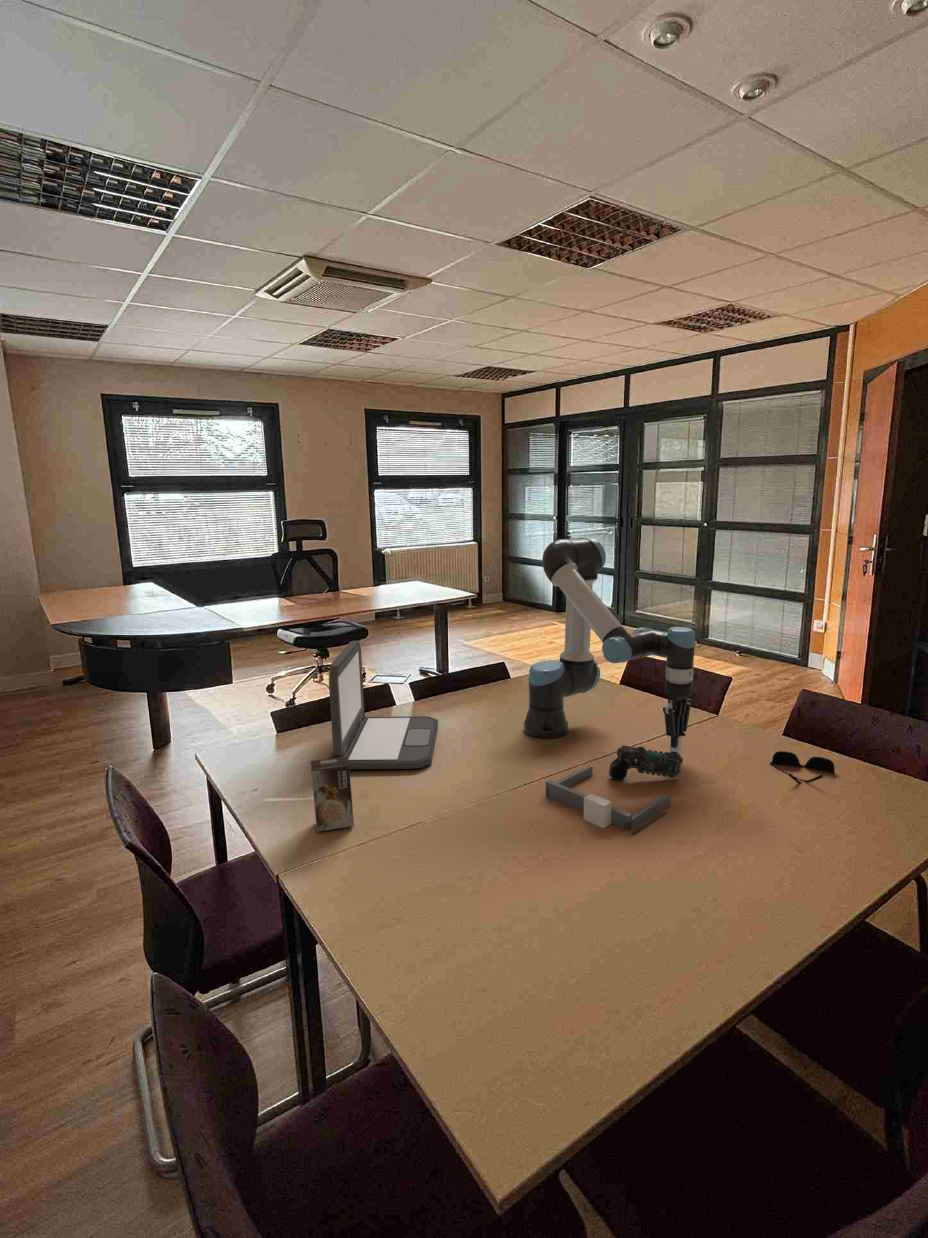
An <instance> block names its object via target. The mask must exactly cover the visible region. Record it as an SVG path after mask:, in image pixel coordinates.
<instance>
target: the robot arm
mask: <svg viewBox="0 0 928 1238" xmlns="http://www.w3.org/2000/svg"><path fill="white" fill-rule="evenodd" d="M606 556H607V555H606V552H605V548H604V546H603V545H602V543H601V542H600V541H599V540H597V539H596V538H593V537H581V536H580V537H575V538H574V537H573V538H566V539H565V538H563V539H562V538H561V539H557V540H556V539H555V540H554V541H552V542H550V543H549V544H548V545H547V547H546V548H545V549H544V551H543V554H542V559H541V560H542V561H541V564H542V569H543V572H544V573H545V576H546V577H547V579H548V580H549V582H550V583H551V584H552V586H555V587H558V588H559V590H561V591H562V593H563V594H564V595H565V597H566V601H565V603H566V604H565V626H564V627H565V628H564V650H563V651H562V652H561V653H560V654H559V660H556V659H555V660H554V659H549V660H541V661H538V662H535V663H534V664H532V666H530V668H529V670H528V671H529V673H528V678H527V679H528V710H527V712H526V715H525V718H524V719H525V720H524V721H523V731H524V732H525V734H527V735H529V736H532V737H535V738H539V739H554V738H556V739H557V738H560V737H563V736H565V735H566V734H568V733H569V721H567V717H566V714H565V709H564V698H568V697H572V696H575V695H578V694H584V693H587V692H588V691H591V690H593V689H594V688H596V686H597V685H598V683H599V681H600V678H601V670H600V666H598V662H597V661H596V660H595V658H594V657H595V656H594V654H592V653H591V650H590V649H591V630H592V631H593V632H594V633H595V635H596V636H597V638H599V640H600V642H602V647H601V652H602V653H603V657H604V658H605V660H606V661H608V662H609V663H611V664H620V663H626V662H627V663H628V662H629V661H633V660H635V659H641V658H645V657H649V656H657V657H660V658H664V659H666V666H665V679H666V680H665V681H664V682H665V684H664V685H665V686H664V687H665V688H664V692H665V693H666V694H667V695H668V700H667V704H668V705H667V706H663V707H662V711H663V714H664V715H663V716H664V724H665V734H666V736H668V737H670V747H669V753H670V752H671V751H673V752H677V754H680V756H681V757H682V743H683V741H682V739H683V737H686V735H687V733H686V732H687V730H688V723H689V719H690V711H691V708H692V703H693V699H690V698H689V697H690V696H691V695H692V694H693V685H694V683H693V682H692V681H693V679H694V675H695V673H694V663H695V662H694V661H695V660H694V659H695V649H696V632H695V631H694V629H692V628H689V627H685V626H684V627H682V626H671V627H670V628H669V629H668V630H667V632H666V631H664V630H657V629H655V628H654V629H653V628H650V627H642V626H641V627H638V628H636V629H635V630H634V631H633V632H632V633H629V632H628V631H627V630H626V629H625V627H624V626H623V625H622V624H621V623H620V622H619V620H618V619H617V618H616V616H615V615H614V614H613V613H612V612H611V610H610V609H609V608H608V607H607V606H606V604H605V603H604V602H603V601H602V599H601V598H600V597H599V596H598V594H597V593H596V592H595V591H594V590H593V585H594V583H595V582H596V581H597V580H598V578H599V577H598V575H599V574H598V573H599V571H600V570H602V569H603V567H605V564H606V559H607V557H606ZM684 732H685V733H684Z"/></svg>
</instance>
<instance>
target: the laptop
mask: <svg viewBox="0 0 928 1238" xmlns="http://www.w3.org/2000/svg"><path fill="white" fill-rule="evenodd" d="M362 656H363V655H362V646H361V644H360V641H359V640H352V641H349V643H348V644H347V645H346V646H345V647H344V648H343V650H342V651H341V652H340V653H339V654H338V655H337V657H336V658H335V659H334V660H333V661H332V663H330V664H329V665H330V666H329V674H328V689H329V691H328V692H329V701H330V702H329V703H330V720H331V733H332V735H331V736H332V748H333V749H332V750H333V751H332V752H331V753H330V756H329V758H328V759H331V758H339V757H347V760H348V764H349V770H394V769H395V770H396V769H398V770H399V769H402V770H406V769H408V770H409V769H413V770H414V769H421V768H424V767H427V766H430V765H432V763H433V758H434V752H435V747H436V741H437V736H438V730H439V720H438V719H437V718H434V717H431V716H426V715H425V716H423V715H422V716H419V715H418V716H415V715H414V716H410V715H409V716H366V714H365V698H364V697H365V695H364V694H365V693H364V679H363V678H364V676H363V657H362Z"/></svg>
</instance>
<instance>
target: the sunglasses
mask: <svg viewBox="0 0 928 1238" xmlns="http://www.w3.org/2000/svg"><path fill="white" fill-rule="evenodd" d="M769 765H770V766H771V767H773V766H774V767H773V768H775V769H777V770H779V771H780V770H781V771H780V772H783V773H784V772H785V774H787V775H788V776H789V778H791V779H792V780H794V781H795V782H796V783H797V784H803V781H804V783H806V782H807V783H806V784H808V783H812V782H815V781H818V780H820V779H823V778H824V775H823V774H820V775H818V776H815V777H813V778H811V779H808V780H805V779H802V778H798V777H797V776H794V775H793V774H792V773H791V772H789V773H788V772H787V771H784V770H783V769H781V768H779V767H777V766H785V765H786V766H788V767H795V766H799V767H798V768H804V769H809V770H815V771H820V772H825V773H829V774H833V775H836V772H835V768H836V767H835V762H834V761H832V759H829V758H827V757H826V758H825V757H822V756H812V757H810V758H809V759H808V760H807V762H806V763H805V764H803V765H802V764H801V762H800V760H799V758H798V756H797V755H796V753H793V752H789V751H786V750H779V751H775V752H774V754H773V755H772V761H771V762H769ZM775 765H776V766H775ZM799 779H800V780H799Z"/></svg>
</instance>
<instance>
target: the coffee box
mask: <svg viewBox="0 0 928 1238" xmlns="http://www.w3.org/2000/svg"><path fill="white" fill-rule="evenodd" d="M310 768H311V769H310V771H311V779H312V792H313V804H314V805H313V806H314V815H315V824H316V831H317V832H325V831H331V830H335V829H342V828H343V829H344V828H348V827H349V828H350V827H354V826H355V823H354V822H355V819H354V811H353V796H352V795H353V794H352V784H351V783H352V782H351V771H350V770H351V769H349V764H348V760H347V757H339V758H331V759H329V758H325V759H319V760H310Z"/></svg>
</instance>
